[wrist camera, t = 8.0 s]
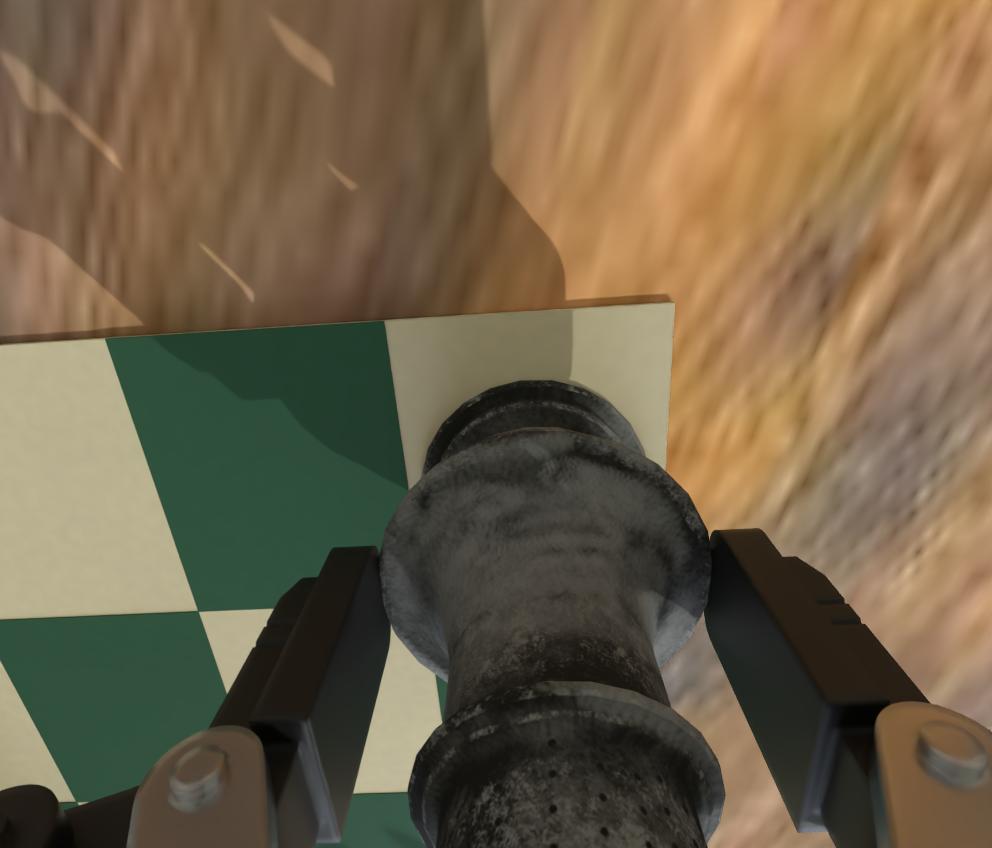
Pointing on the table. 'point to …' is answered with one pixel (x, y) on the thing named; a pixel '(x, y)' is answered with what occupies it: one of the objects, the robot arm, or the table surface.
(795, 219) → the table surface
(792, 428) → the table surface
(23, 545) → the chess mat
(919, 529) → the table surface
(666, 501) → the grey tall turned piece
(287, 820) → the robot arm
